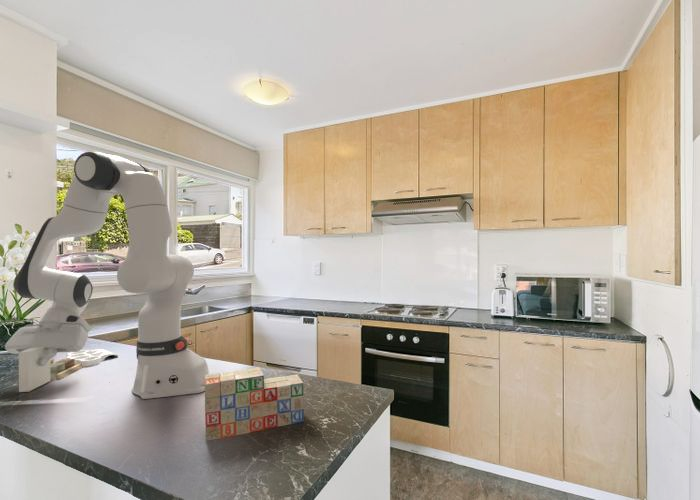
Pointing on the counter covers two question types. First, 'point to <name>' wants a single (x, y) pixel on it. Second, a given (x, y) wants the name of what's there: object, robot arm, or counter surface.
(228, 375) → the stack of blocks
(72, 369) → the oak rack
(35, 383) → the cream board
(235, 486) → the counter surface
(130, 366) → the counter surface
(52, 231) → the robot arm
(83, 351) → the knuckle duster
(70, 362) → the offcuts
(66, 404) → the counter surface
